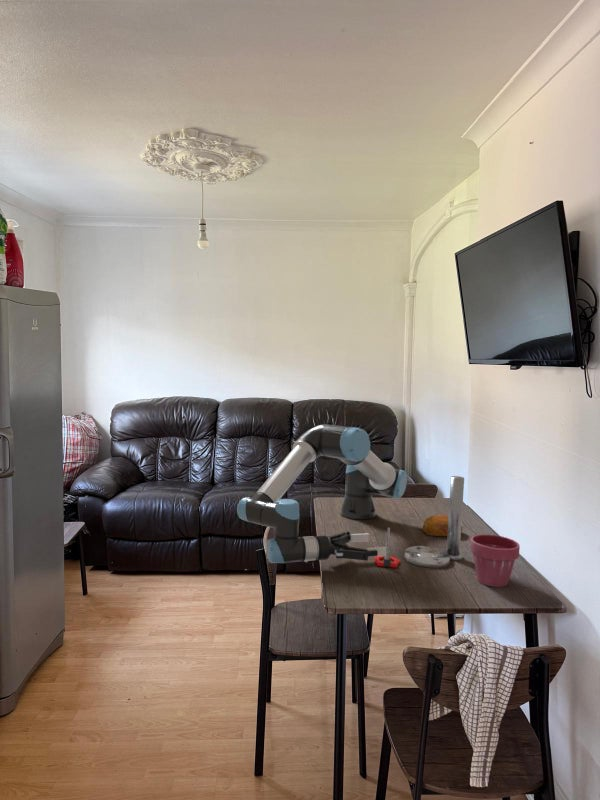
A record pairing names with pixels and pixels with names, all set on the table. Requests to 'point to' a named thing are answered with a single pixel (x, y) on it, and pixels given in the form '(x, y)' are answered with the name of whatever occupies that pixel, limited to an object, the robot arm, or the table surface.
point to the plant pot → (494, 558)
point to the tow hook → (387, 556)
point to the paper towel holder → (440, 557)
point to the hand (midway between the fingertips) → (376, 544)
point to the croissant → (437, 525)
